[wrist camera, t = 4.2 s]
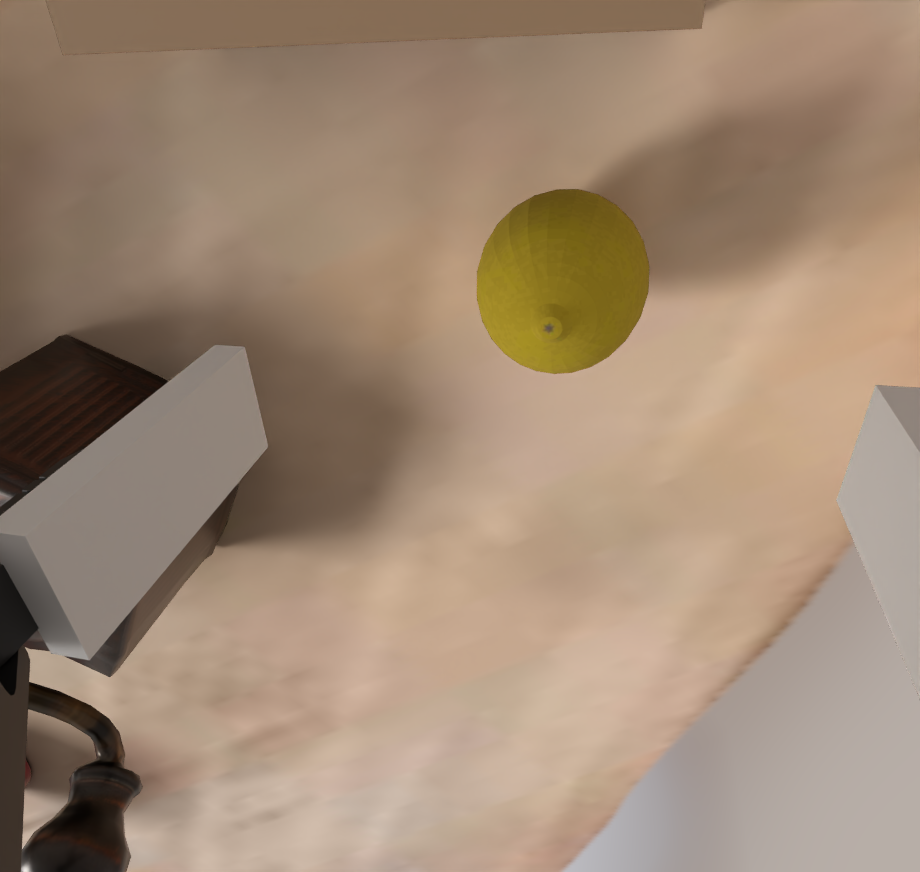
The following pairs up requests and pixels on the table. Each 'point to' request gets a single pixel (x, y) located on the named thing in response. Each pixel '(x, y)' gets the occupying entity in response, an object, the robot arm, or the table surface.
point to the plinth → (344, 21)
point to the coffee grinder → (105, 780)
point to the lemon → (562, 281)
